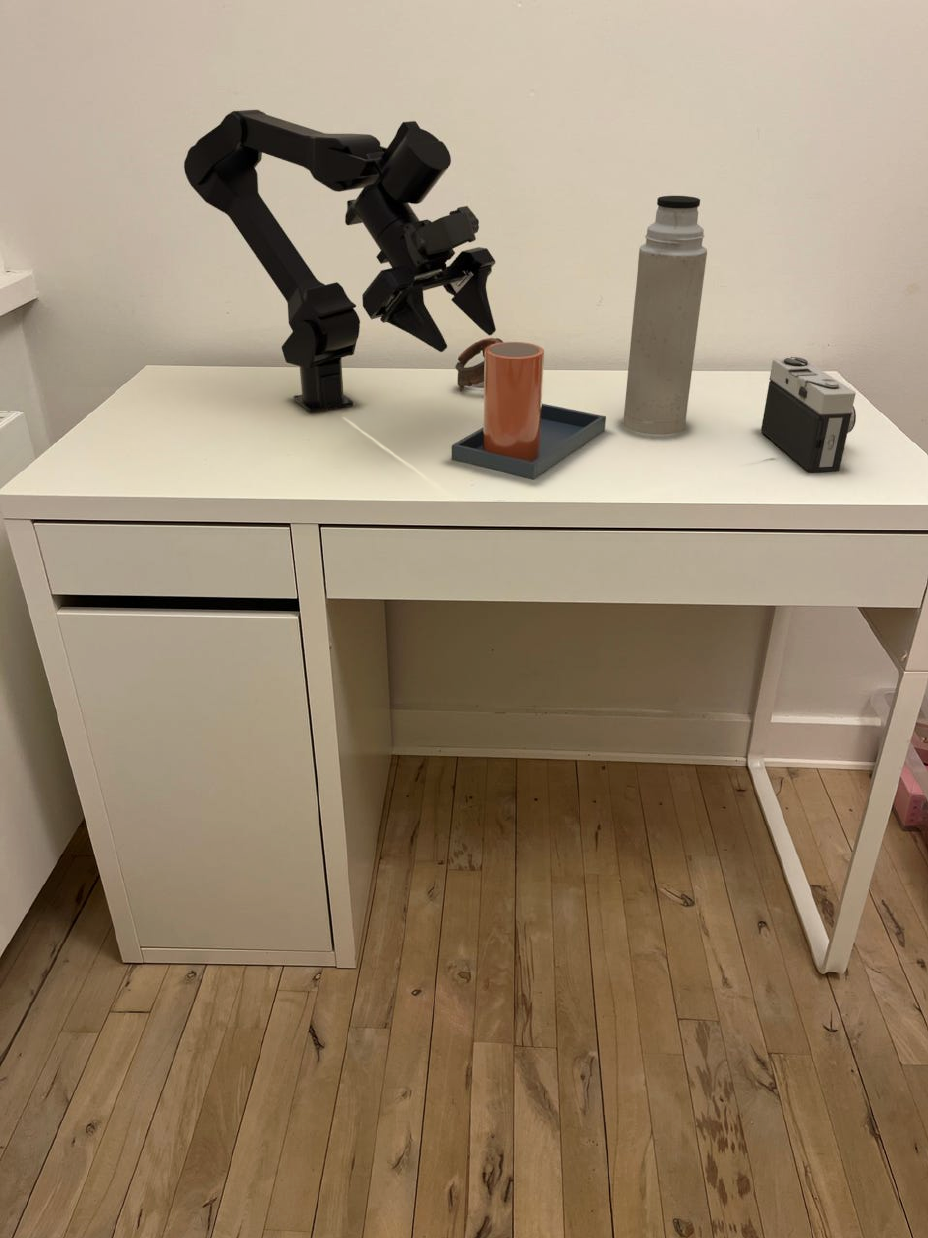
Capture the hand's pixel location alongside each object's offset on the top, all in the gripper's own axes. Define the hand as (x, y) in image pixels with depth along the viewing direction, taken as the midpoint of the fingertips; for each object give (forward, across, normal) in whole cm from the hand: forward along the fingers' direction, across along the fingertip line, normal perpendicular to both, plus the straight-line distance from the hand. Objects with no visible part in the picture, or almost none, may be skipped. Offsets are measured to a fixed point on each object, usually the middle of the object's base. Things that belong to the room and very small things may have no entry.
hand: (469, 341), depth 115 cm
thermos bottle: (+20, +21, -1) cm, 29 cm away
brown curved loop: (+1, +20, +18) cm, 27 cm away
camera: (+33, +26, -15) cm, 45 cm away
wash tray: (+14, +4, +5) cm, 15 cm away
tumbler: (+14, 0, +4) cm, 14 cm away
